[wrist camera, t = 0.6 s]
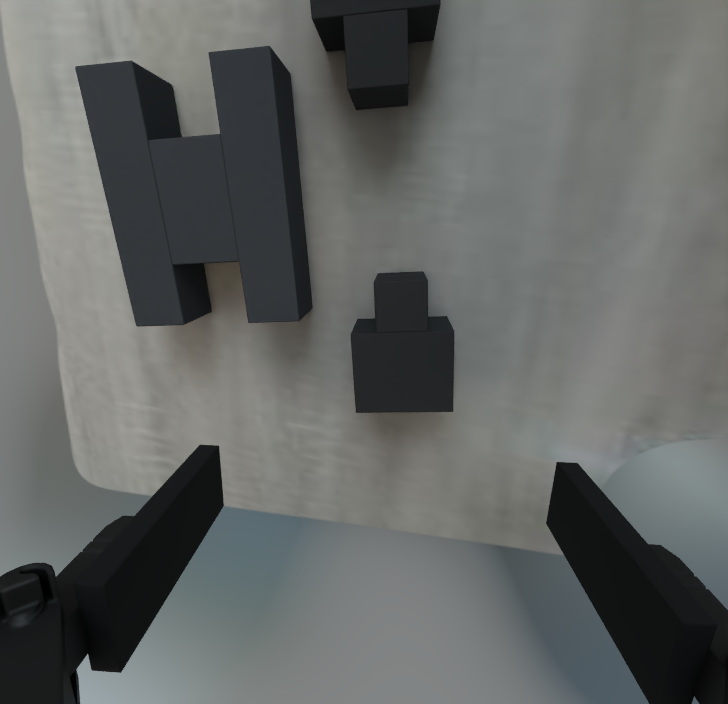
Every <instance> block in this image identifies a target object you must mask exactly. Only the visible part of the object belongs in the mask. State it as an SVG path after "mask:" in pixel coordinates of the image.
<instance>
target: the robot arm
mask: <svg viewBox="0 0 728 704" xmlns="http://www.w3.org/2000/svg"><path fill="white" fill-rule="evenodd" d="M223 506H224V503H223V490H222V478H221V466H220V454H219V446H213V445H199V446H198V447H197V449H196V450H195V451H194V452H193V453H192V454H191V455H190V456H189V457H188V458H187V459H186V461H185V462H184V463H183V464H182V465H181V466H180V467H179V468H178V469H177V470H176V471H175V473H174V474H173V475H172V476H171V477H170V478H169V479H168V480H167V481H166V482H165V483H164V484H163V486H162V487H161V488H160V489H159V490H158V491H157V492H156V493H155V494H154V495H153V496H152V498H151V499H150V500H149V501H148V502H147V503H146V504H145V505H144V506H143V507H142V508H141V510H140V511H139V512H138V513H137V514H136V515H135V516H122V517H120V518H119V519H117V520H115V521H114V522H112V523H111V524H109V525H107V526H106V527H105V528H104V529H103V530H102V531H101V532H100V533H99V534H98V535H97V536H96V537H95V538H94V540H93V542H90V543H89V544H88V545H87V546H86V547H85V548H84V549H83V552H80V553H79V554H78V555H77V556H76V557H75V558H74V559H73V560H72V561H71V562H70V563H69V564H68V565H67V566H66V567H65V568H64V569H63V570H62V572H61V573H60V574H59V575H58V576H57V577H56V576H55V572H54V570H53V567H52V566H51V565H49V564H46V563H32V564H28V565H24V566H21V567H18V568H16V569H14V570H11V571H9V572H7V573H6V574H4V575H2V576H1V577H0V704H80V696H79V681H78V674H77V670H76V669H77V667H78V666H79V665H80V663H81V662H82V661H83V659H84V658H85V656H86V655H87V654H88V655H89V660H90V665H91V669H92V670H94V671H106V672H120V673H121V671H122V670H123V668H124V667H125V665H126V663H127V662H128V660H129V659H130V657H131V655H132V654H133V652H134V651H135V649H136V647H137V646H138V644H139V642H140V641H141V639H142V638H143V636H144V634H145V633H146V631H147V630H148V628H149V626H150V625H151V623H152V621H153V620H154V618H155V617H156V615H157V613H158V612H159V610H160V608H161V606H162V605H163V604H164V602H165V600H166V599H167V597H168V595H169V594H170V592H171V591H172V589H173V587H174V586H175V584H176V582H177V581H178V579H179V578H180V576H181V574H182V573H183V571H184V569H185V567H186V566H187V565H188V563H189V561H190V560H191V558H192V556H193V555H194V553H195V552H196V550H197V548H198V547H199V545H200V543H201V542H202V540H203V539H204V537H205V535H206V534H207V532H208V530H209V529H210V527H211V525H212V524H213V522H214V521H215V519H216V517H217V516H218V514H219V513H220V511H221V509H222V508H223ZM546 524H547V526H548V527H549V529H550V531H551V533H552V534H553V536H554V538H555V540H556V541H557V543H558V545H559V547H560V548H561V550H562V552H563V554H564V555H565V557H566V559H567V561H568V562H569V564H570V566H571V568H572V569H573V571H574V573H575V574H576V576H577V578H578V580H579V582H580V583H581V585H582V587H583V588H584V590H585V592H586V594H587V595H588V597H589V599H590V601H591V602H592V604H593V606H594V608H595V609H596V611H597V613H598V615H599V616H600V618H601V620H602V622H603V623H604V625H605V627H606V629H607V630H608V632H609V634H610V636H611V637H612V639H613V641H614V643H615V644H616V646H617V648H618V650H619V651H620V653H621V654H622V657H623V658H624V660H625V662H626V664H627V665H628V667H629V669H630V671H631V672H632V674H633V676H634V677H635V679H636V681H637V683H638V684H639V686H640V688H641V690H642V692H643V693H644V695H645V696H646V698H647V700H648V702H649V704H692V701H693V698H694V696H695V698H696V699H697V701H698V702H699V704H728V610H727V609H726V608H725V607H724V606H723V605H722V604H721V602H720V601H719V600H718V599H717V598H716V597H715V596H714V595H713V594H712V593H711V592H710V591H709V590H708V589H706V588H705V586H704V584H703V583H702V582H701V581H700V580H699V579H698V578H697V577H694V574H693V572H692V571H691V570H690V569H689V568H688V567H687V566H686V565H685V564H684V563H683V562H682V561H681V560H680V558H678V557H677V556H675V555H674V554H672V553H671V552H670V551H668V550H667V549H665V548H664V547H662V546H661V545H650V544H647V543H646V541H645V540H644V539H643V538H642V537H641V536H640V534H639V533H638V532H637V531H636V530H635V529H634V528H633V527H632V525H631V524H630V523H629V522H628V521H627V520H626V519H625V517H624V516H623V515H622V514H621V513H620V512H619V510H618V509H617V508H616V507H615V506H614V505H613V504H612V502H611V501H610V500H609V499H608V498H607V497H606V495H605V494H604V493H603V492H602V491H601V490H600V489H599V487H598V486H597V485H596V484H595V483H594V482H593V480H592V479H591V478H590V477H589V476H588V475H587V474H586V472H585V471H584V470H583V469H582V468H581V467H580V466H579V464H578V463H565V462H557V464H556V470H555V476H554V481H553V487H552V493H551V499H550V505H549V510H548V516H547V522H546Z"/></svg>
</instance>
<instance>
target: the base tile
mask: <svg viewBox="0 0 728 704" xmlns="http://www.w3.org/2000/svg"><path fill="white" fill-rule="evenodd" d="M209 58H210V65H211V72H212V79H213V86H214V92H215V99H216V106H217V113H218V120H219V126H220V133H221V135H220V134H216V135H204V136H192V137H181V134H180V129H179V123H178V117H177V111H176V106H175V100H174V94H173V88H172V85H171V84H169V83H168V82H166V81H164V80H163V79H161V78H159V77H158V76H156V75H154V74H153V73H151V72H149V71H148V70H146V69H144V68H143V67H141V66H139V65H138V64H136V63H134V62H133V61H124V62H114V63H105V64H95V65H86V66H76V67H75V69H76V73H77V77H78V81H79V86H80V90H81V94H82V98H83V103H84V107H85V111H86V115H87V119H88V124H89V128H90V132H91V136H92V141H93V145H94V149H95V153H96V158H97V162H98V166H99V170H100V174H101V179H102V183H103V187H104V191H105V196H106V200H107V204H108V208H109V213H110V217H111V221H112V225H113V229H114V234H115V238H116V242H117V246H118V251H119V255H120V259H121V263H122V268H123V272H124V276H125V280H126V285H127V289H128V293H129V297H130V301H131V306H132V310H133V314H134V318H135V323H136V326H165V325H184V324H186V323H189V322H191V321H193V320H195V319H197V318H199V317H201V316H203V315H206V314H208V313H210V312H211V306H210V300H209V295H208V289H207V283H206V277H205V272H204V266H203V263H219V262H238V261H239V262H240V269H241V276H242V283H243V290H244V296H245V303H246V310H247V317H248V323H260V322H290V321H300V320H301V319H302V318H303V317H304V316H305V315H306V314H307V313H308V312H309V311H310V310H311V309H312V297H311V287H310V276H309V266H308V255H307V245H306V234H305V224H304V213H303V203H302V192H301V182H300V171H299V161H298V150H297V140H296V129H295V119H294V108H293V98H292V87H291V77H290V73H289V71H288V70H287V69H286V67H285V66H284V65H283V63H282V62H281V61H280V59H279V58H278V56H277V55H276V54H275V52H274V51H273V50H272V48H271V47H270V46H264V47H255V48H245V49H236V50H226V51H217V52H209Z"/></svg>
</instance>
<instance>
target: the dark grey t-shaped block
mask: <svg viewBox="0 0 728 704" xmlns="http://www.w3.org/2000/svg"><path fill="white" fill-rule="evenodd" d="M310 2H311V15H312V20H313V22H314V24H315V27H316V29H317V31H318V34H319V36H320V38H321V41H322V43H323V45H324V47H325V50H326V51H333V50H343V49H345V56H346V73H347V89H348V92H349V94H350V97H351V99H352V102H353V104H354V107H355V109H356V110H361V109H372V108H384V107H395V106H407V105H408V87H409V71H408V43H412V42H422V41H432V40H434V36H435V31H436V25H437V20H438V14H439V9H440V0H310Z"/></svg>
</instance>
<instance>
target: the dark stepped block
mask: <svg viewBox="0 0 728 704" xmlns="http://www.w3.org/2000/svg"><path fill="white" fill-rule="evenodd" d="M374 297H375V319H357V322H356V324H355V326H354V328H353V331H352V333H351V345H352V360H353V375H354V390H355V405H356V413H371V412H453V379H454V330H453V328H452V326H451V324H450V322H449V320H448V318H447V316H442V317H428V281H427V278H426V276H425V274H424V272H403V273H380V274H378V275H377V277H376V279H375V281H374Z"/></svg>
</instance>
